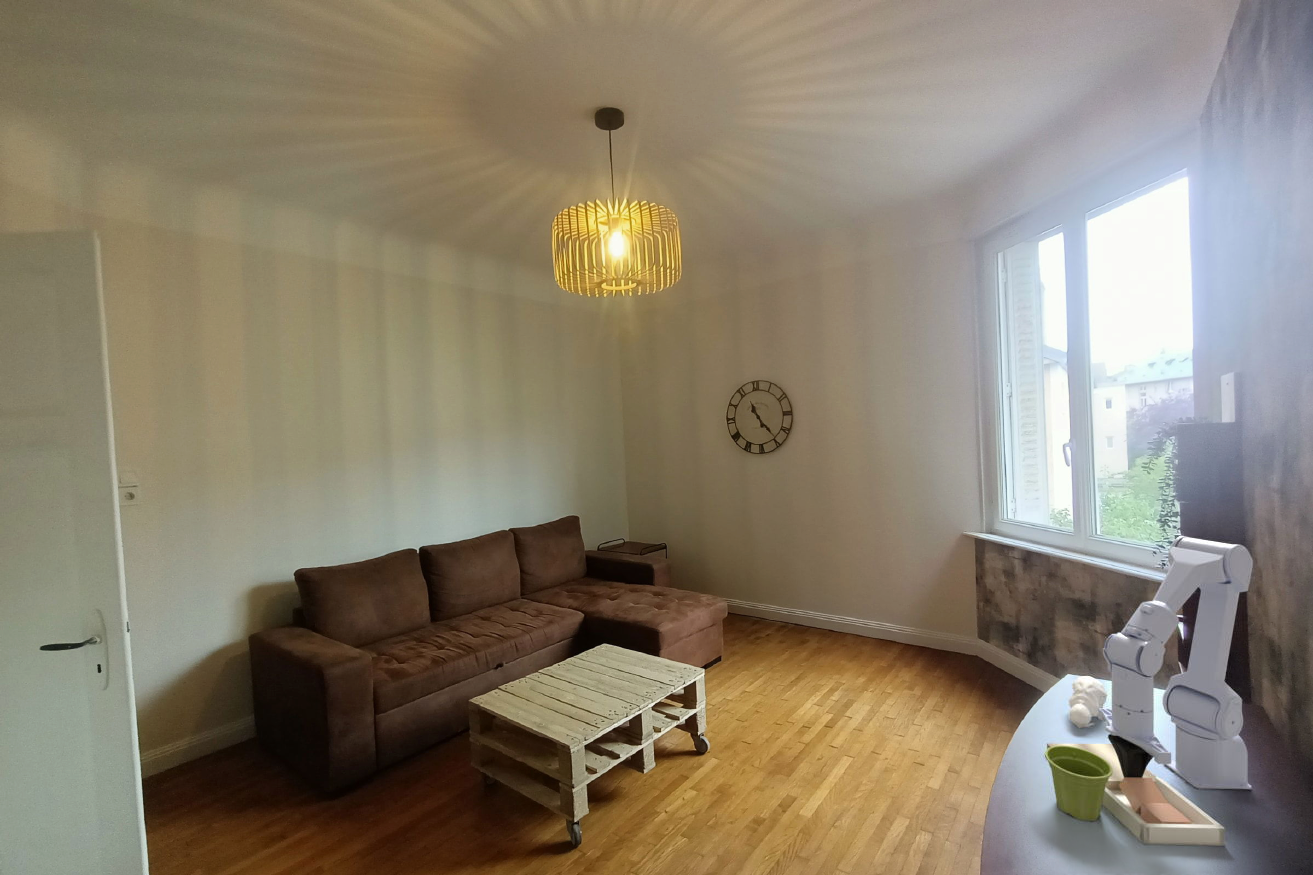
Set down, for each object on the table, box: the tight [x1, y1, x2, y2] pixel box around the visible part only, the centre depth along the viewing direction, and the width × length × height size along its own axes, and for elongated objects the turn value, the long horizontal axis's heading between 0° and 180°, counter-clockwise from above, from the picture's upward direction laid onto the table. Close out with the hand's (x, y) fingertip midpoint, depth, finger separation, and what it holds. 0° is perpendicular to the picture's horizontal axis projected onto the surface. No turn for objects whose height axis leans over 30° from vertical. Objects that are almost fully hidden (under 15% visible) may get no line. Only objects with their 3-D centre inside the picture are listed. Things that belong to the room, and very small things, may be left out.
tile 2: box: [1141, 803, 1192, 824], centre depth 96 cm, size 4×4×2 cm
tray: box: [1102, 776, 1226, 847], centre depth 99 cm, size 12×13×3 cm
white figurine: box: [1066, 675, 1108, 729], centre depth 129 cm, size 6×8×12 cm
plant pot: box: [1044, 746, 1113, 822], centre depth 101 cm, size 9×9×9 cm
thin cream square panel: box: [1046, 742, 1157, 790], centre depth 111 cm, size 13×12×2 cm
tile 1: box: [1119, 777, 1168, 813], centre depth 101 cm, size 4×4×2 cm
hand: (1132, 780), depth 103 cm, fingers closed
